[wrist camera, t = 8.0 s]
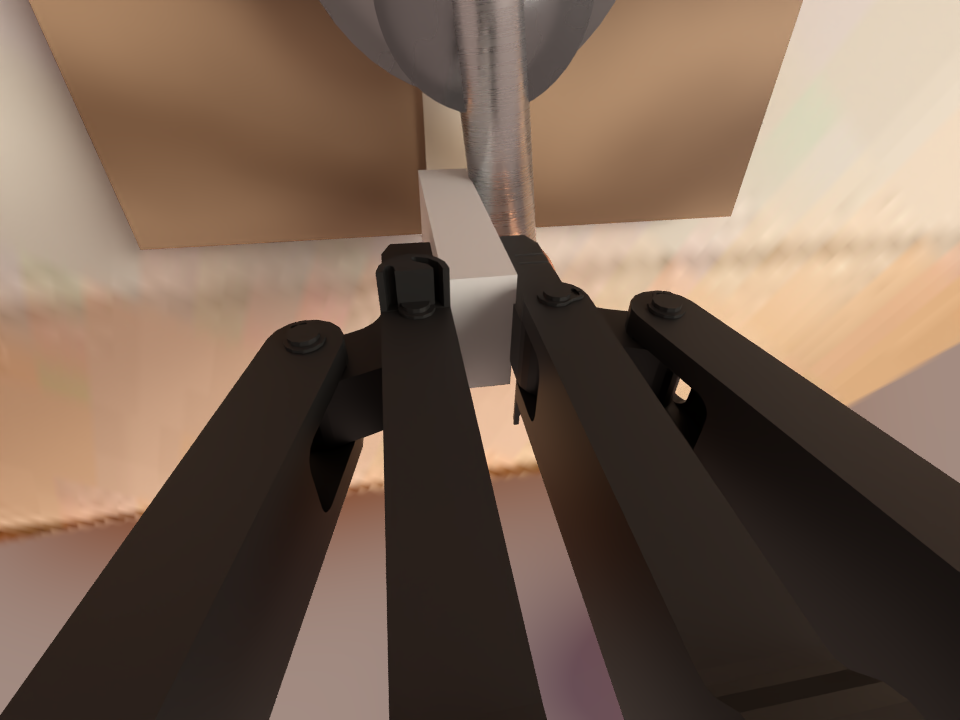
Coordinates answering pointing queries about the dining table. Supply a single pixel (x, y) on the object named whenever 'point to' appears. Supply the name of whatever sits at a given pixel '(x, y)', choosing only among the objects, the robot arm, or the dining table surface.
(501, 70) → the metal ball lever
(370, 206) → the board
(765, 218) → the dining table surface
